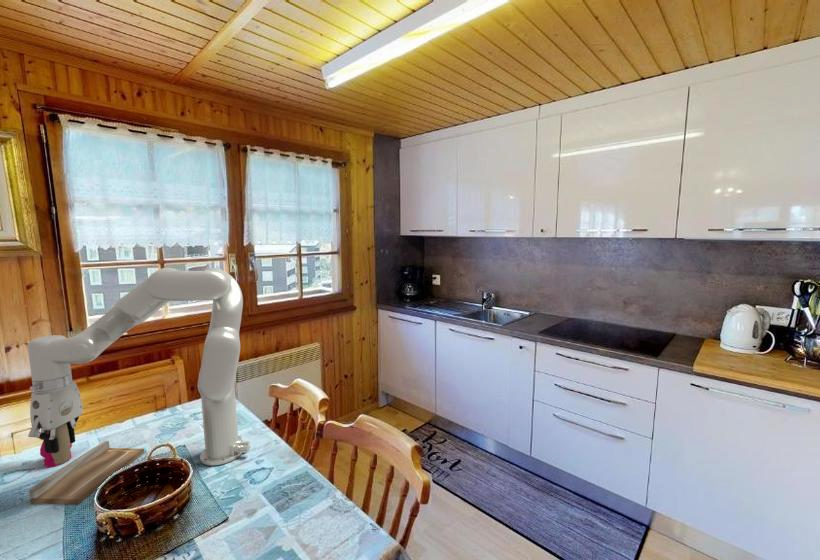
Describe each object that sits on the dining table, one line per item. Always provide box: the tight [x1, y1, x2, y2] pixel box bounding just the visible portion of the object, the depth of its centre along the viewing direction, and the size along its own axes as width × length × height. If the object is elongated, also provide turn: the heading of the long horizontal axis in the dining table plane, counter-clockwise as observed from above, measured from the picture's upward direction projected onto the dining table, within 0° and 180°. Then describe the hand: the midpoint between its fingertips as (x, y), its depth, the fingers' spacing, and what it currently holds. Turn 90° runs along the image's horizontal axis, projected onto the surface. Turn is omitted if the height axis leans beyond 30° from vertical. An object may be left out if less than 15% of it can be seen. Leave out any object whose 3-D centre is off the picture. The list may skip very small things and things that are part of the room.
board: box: [28, 440, 145, 505], centre depth 108 cm, size 13×23×4 cm, turn 178°
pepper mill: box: [39, 430, 73, 468], centre depth 114 cm, size 7×7×20 cm
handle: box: [52, 407, 71, 465], centre depth 99 cm, size 5×6×15 cm
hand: (60, 446), depth 100 cm, fingers closed on handle, 3 cm apart
